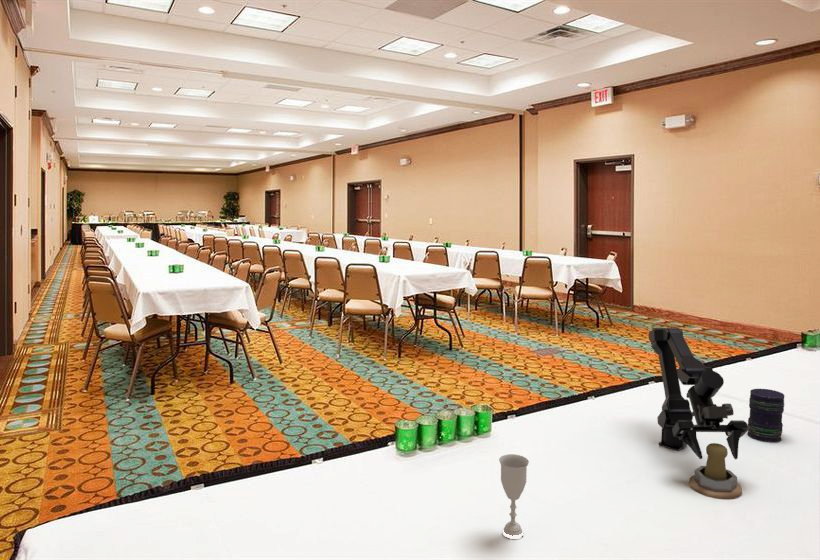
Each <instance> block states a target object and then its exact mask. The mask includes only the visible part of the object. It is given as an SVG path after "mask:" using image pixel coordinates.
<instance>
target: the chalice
mask: <svg viewBox="0 0 820 560" xmlns="http://www.w3.org/2000/svg"><path fill="white" fill-rule="evenodd" d="M498 462H499V463H500V483H501V485H502V489H503V490H504V493H505V496H506V498H508V500H510V502H511V503H510V505H509V508H510V513H508V514H509V516H510V520H509V521H508V522H506V524H505V525H504V527H503V530H504V532H505V533H506V534H509V535H512V536H513V535H519V534H521V533H522V532H523V530H522V526H521V525H520V524H519V523H518V522H517V521H516V517H517V515H518V514H517V512H516V509H517V506H516V501H518V500H519V499H520V497H521V495H522V494H523V492H524V490H525V488H526V487H525V486H526V485H527V484H526V483H527V467H528V465H529V462H530V461H529V459H528V458H527V457H525V456H523V455H520V454H511V453H510V454H504V455H501V456H500V457H499V458H498Z"/></svg>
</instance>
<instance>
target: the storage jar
mask: <svg viewBox="0 0 820 560" xmlns="http://www.w3.org/2000/svg"><path fill="white" fill-rule="evenodd" d="M749 393H750V395H749V404H748V406H749V418H748V417H747V418H748V420H747V424H748V427H749V430H748V431H747V436H748V437H749V438H750V439H753V440H755V441H758V442H762V443H771V444H772V443H780V442H781V441H782V434H783V427H784V425H783V413H784V411H785V409H784V408H785V397H786V396H785V394H784V393H783V392H780V391H777V390H773V389H769V388H768V389H767V388H753V389H751V390H750V392H749Z"/></svg>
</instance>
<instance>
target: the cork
mask: <svg viewBox="0 0 820 560" xmlns="http://www.w3.org/2000/svg"><path fill="white" fill-rule="evenodd" d="M705 450H706V451H705V452H706V455H707V458H706V463H705V466H706V468H705V472H704V476H706V477H709V478H712V479H716V480H727V477H726V469H727V468H726V458H727V457H728V453H729V452H728V448H727V447H726V446H725V445H723V444H721V443H718V442H717V443H716V442H712V443H708V444H707V445H706V449H705Z"/></svg>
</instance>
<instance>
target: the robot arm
mask: <svg viewBox="0 0 820 560" xmlns="http://www.w3.org/2000/svg"><path fill="white" fill-rule="evenodd" d="M648 341H649V343H650V345H651V348H652V350H653V351H654V352H655V353H656V354H657V356H658V361H659V367H660V373H661V378H662V384H663V390H664V395H665V399H664V401H663V403H662V405H661V412H660V413H659V415H658V416H657V424H658V425H659V427H660V428H661V436H660V439H661V441H660V442H658V445H659V446H662V447H666V448H669V449H672V450H676V451H680V450H682V449H683V448H686V447H688V448H690V450H692V452H693V453H694V454H695V455H696V457H698V459H699V460H703V453H702V450H701V447H700V443H699V441H698V438H697V437H698V436H697V433H725V436H726V442H727V444H728V447H729V450H730V452H731V455H732V457H733V459H734V460H738V458H739V457H738V456H739V442H740V439H741V438H742V437H744V435H746V433H748V430H749V427H748V422H747V421H745V420H729V422H728V423H727V424H721V423H723V422H724V419H726V420H727V419H729V416H731V417H732V416H733V415H734V408H733V405H732V404H731V403H721V405H720V406H718V405H717V404H716V403H714V401H713V397H715V396H716V394H717V393H718V392H719V391H720V389H722V387H723V386H724V383H725V382H724V377H723V376H722V375H721V374H720V373H718V372H717V371H715V370H714V369H713V367H711V366H710V367H706V366H705V365H704V363H703V362H702V361H701V360H698V359H697V358H696V357H695V356H694V355H693V352H692V351H691V349H690V346H689V344H688V343H687V340H686V339H685V337H684V332H683V330H682V329H681V328H679V327H652V329H651V330H650V331H649V332H648ZM676 362H677V364H678V368H677V364H676ZM680 383H681V384H682V385H683V386H691V387H689V388H688V390H687V393H686V398H687V399H685V398H684V396H683V395H682V391H681V390H682V389H681V385H680ZM688 399H689V400H688ZM691 409H692V410H691ZM693 418H695V422H696V424H694V421H693Z"/></svg>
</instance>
